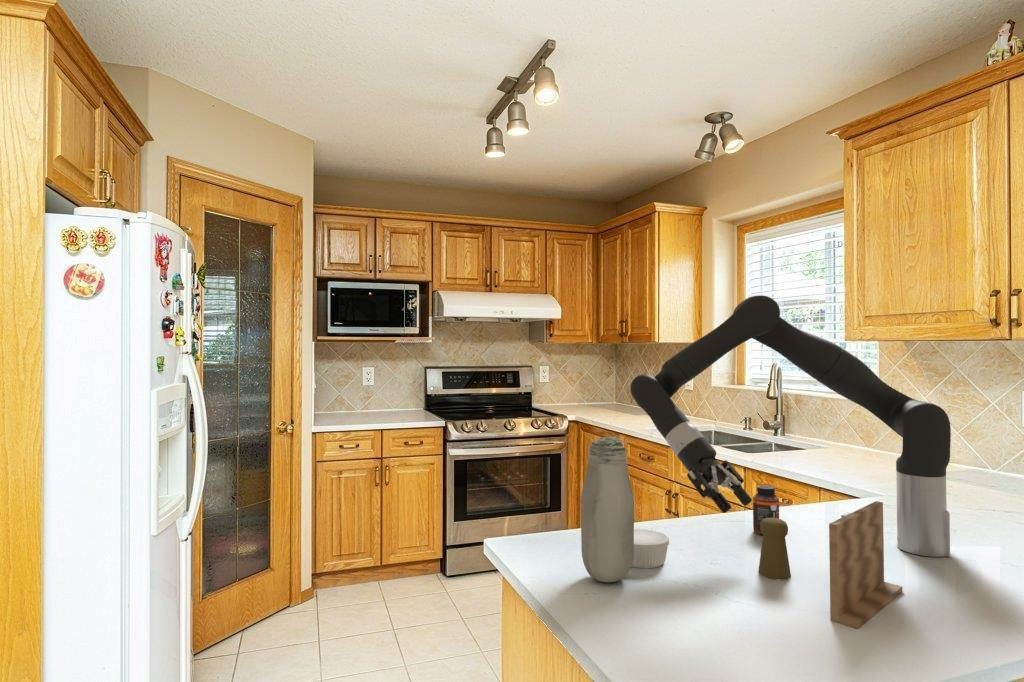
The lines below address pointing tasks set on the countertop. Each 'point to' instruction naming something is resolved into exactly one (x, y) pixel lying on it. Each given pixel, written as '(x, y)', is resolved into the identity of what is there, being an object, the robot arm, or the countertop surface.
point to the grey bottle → (607, 512)
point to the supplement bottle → (764, 506)
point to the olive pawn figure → (774, 549)
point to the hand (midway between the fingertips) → (738, 506)
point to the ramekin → (649, 548)
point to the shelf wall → (858, 567)
